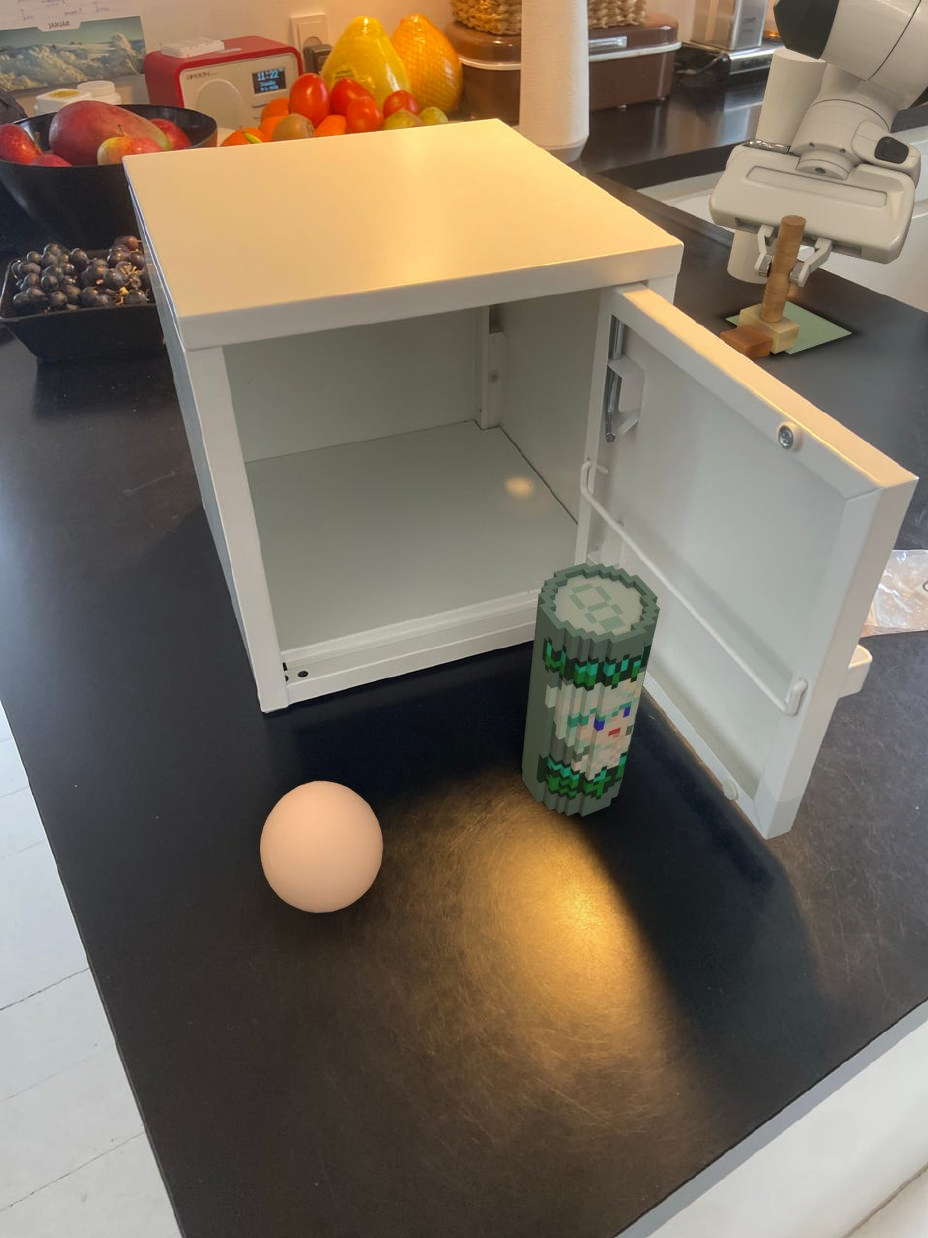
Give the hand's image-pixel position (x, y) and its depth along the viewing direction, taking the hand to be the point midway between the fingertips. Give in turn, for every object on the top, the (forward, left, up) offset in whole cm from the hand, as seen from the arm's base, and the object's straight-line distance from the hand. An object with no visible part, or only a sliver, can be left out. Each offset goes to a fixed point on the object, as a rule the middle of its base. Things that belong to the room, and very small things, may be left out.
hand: (778, 278), depth 95 cm
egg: (+69, +34, -9) cm, 78 cm away
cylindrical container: (-14, -15, -9) cm, 23 cm away
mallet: (-1, 0, -7) cm, 7 cm away
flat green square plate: (-6, -2, -9) cm, 11 cm away
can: (+53, +35, -9) cm, 64 cm away
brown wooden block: (+3, 0, -9) cm, 9 cm away
